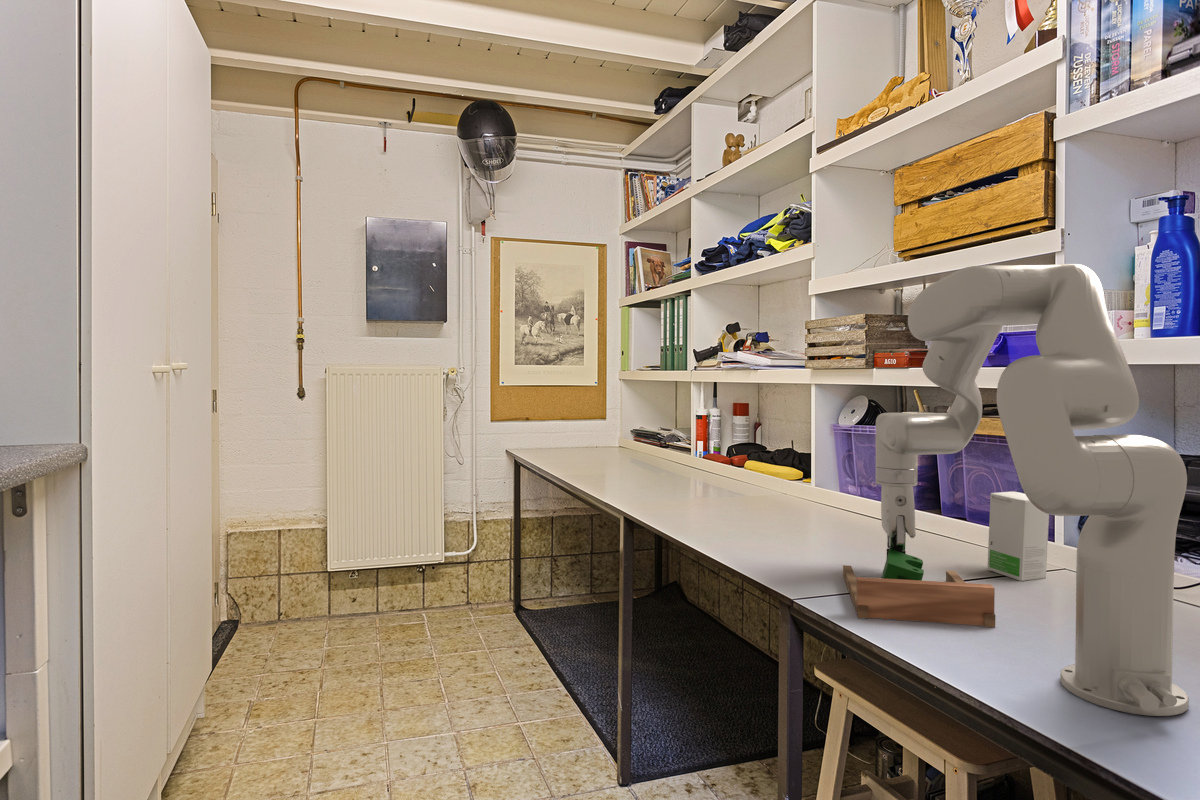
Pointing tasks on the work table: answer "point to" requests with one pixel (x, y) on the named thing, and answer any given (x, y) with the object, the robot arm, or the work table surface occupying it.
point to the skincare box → (1017, 537)
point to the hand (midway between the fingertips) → (895, 569)
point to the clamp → (902, 566)
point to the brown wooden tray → (922, 599)
